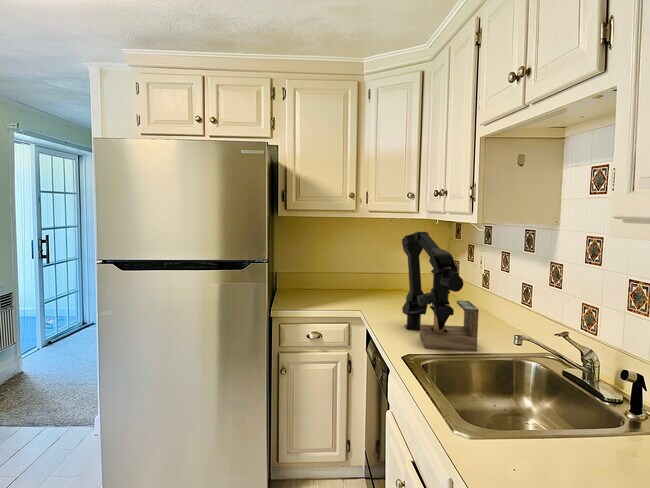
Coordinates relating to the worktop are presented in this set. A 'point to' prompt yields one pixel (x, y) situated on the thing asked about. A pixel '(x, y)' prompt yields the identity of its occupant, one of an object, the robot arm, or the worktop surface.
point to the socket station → (454, 332)
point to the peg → (437, 325)
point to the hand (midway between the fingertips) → (439, 327)
